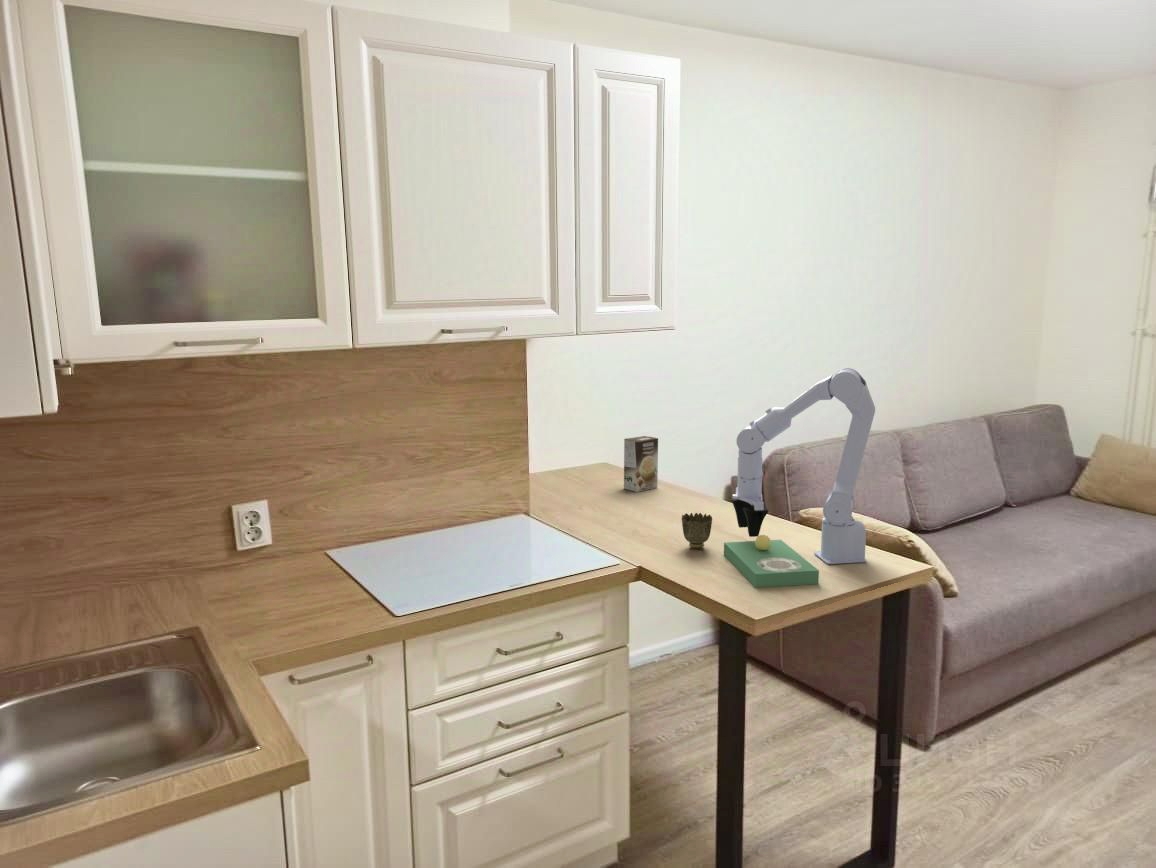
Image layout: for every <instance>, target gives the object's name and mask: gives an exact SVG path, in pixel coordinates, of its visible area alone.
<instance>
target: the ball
mask: <svg viewBox="0 0 1156 868" xmlns="http://www.w3.org/2000/svg"><path fill="white" fill-rule="evenodd" d="M771 540H772V539H771V538H770V537H769V536H768V535H765V534H760V535H758V537H756V538H755V539H754V541H755V545H756V547H757V548H758V549H759V550H762V551H765V550H767V549H769V548H770V546H771Z"/></svg>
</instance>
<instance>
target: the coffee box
mask: <svg viewBox="0 0 1156 868" xmlns="http://www.w3.org/2000/svg"><path fill="white" fill-rule="evenodd" d="M623 440H624V444H623V445H624V447H623V455H624V456H623V489H625V490H628V491H631V492H632V491H633V492H635V493H638V492H644V491H647V490H653V489H657V488H658V480H659V479H658V477H659V476H658V473H659V472H658V471H659V470H658V466H659V438H658V437H652V436H648V435H647V436H646V435H643V436H634V437H627V438H624V439H623Z"/></svg>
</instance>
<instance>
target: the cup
mask: <svg viewBox="0 0 1156 868" xmlns="http://www.w3.org/2000/svg"><path fill="white" fill-rule="evenodd" d="M681 523H682V532H683V537H684V539H685V540H686V541H687V542H688V543H689V544H688V547H689V548H690V549H693V550H702V549H703V548H704V547H705V543H706V542H707V541H708V540H709V539H710V535H711V531H712V523H713V516H711V514H708V515H707V513H704V514H702V513H701V512H699V513H698V512H695V513H694V514H693V512H691V513H690V514H688V513H684V514H682V515H681Z"/></svg>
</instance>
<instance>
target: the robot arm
mask: <svg viewBox="0 0 1156 868" xmlns="http://www.w3.org/2000/svg"><path fill="white" fill-rule="evenodd" d="M834 397H835V398H836V399H837V400H838V401H839V402H841V404H842V403H843V404H844V405H845V407H846V408H847V409H848V410H849V413H850V414H851V415H852V417H851V421H850V425H849V428H848V432H847V436H846V439H845V443H844V446H843V450H842V454H841V459H840V462H839V466H838V469H837V473H836V478H835V480H834V484H833V488H832V491H830V492H829V494H828V495H827V497H826V502H825V503H824V505H823V507H822V514H823V517H822V519H821V539H820V540H821V541H820V550H817V551H816V550H815V551H813V554H814V555H815V556H816V557H817V558H819V559H821V561H823V562H824V563H825V564H827V565H834V564H835V565H836V564H837V565H839V564H851V563H852V564H853V563H854V564H855V563H866V562H867V559H866V546H867V545H866V541H867V533H866V527H865V525H864V523H863V522H862V521H860V520H855V518H853V516H852V515H853V509H854V507H855V498H854V491H855V487H856V484H857V483H856V482H857V479H858V476H859V473H860V469H861V466H862V461H863V457H864V454H865V450H866V447H867V443H868V438H869V435H870V431H871V429H872V424H873V421H874V417H875V413H876V405H875V404H874V401H873V398H872V395H871V393H870V390H869V387H868V384H867V381H866V379H865V378H863V376H862V375H861V374H860V373H859V372H858V371H857V370H856V369H854V368H851V367H850V368H849V367H846V368H842V369H840V370H838V371H837V372H836V373H835V374H831V375H829V376H827V377H826V378H823V379H822V380H820V381H818V382H817V383H815V384H813V385H812V386H811V387H810V388H808V389H807V390H806V391H804V392H803V393H802V394H800V395H799V396H798V397H797V398H795V399H793V401H790V403H789V404H787V405H786V406H784V407H780V406H775V407H773V408H771V407H769V408H767V409H766V410H765V414H763V415H762V416H761V417H759V418H758V419H756V420H755V421H754V420H751V421H750V422H749V425H748V426H746V427H745V428H743V429H741V431H740V432H739V433H738V435H737V437H736V446H737V447H738V457H737V487H735V494H732V495H731V497H732V498H730V501H731V504H732V505H733V508H734V511H735V516H736V521H737V524H738V528H741V529H742V528H747V533H748V537H750V538H754V537H756V538H757V537H758V536H760V535H759V534H760V532H761V528H762V525H763V521H764V519H765V517H766V516H767V514H768V513H769V509H768V508H767V507H764V506H765V503H764V501H763V494H762V491H763V490H762V489H763V488H762V484H763V446H764V444H765V443H768V442H770V441H772V440H773V439H774V438H776V437H778V436H779V435H780V434H783V433H784V432H785V431H786V430H788V429H789V428H790V427H791V425H792V419H793V418H794V417H796V416H797V415H799V414H800V413H802V412H804V411H805V410H807V409H809V408H810V407H812V406H813V405H814V404H816V403H818V402H819V401H831V400H833V398H834Z"/></svg>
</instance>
